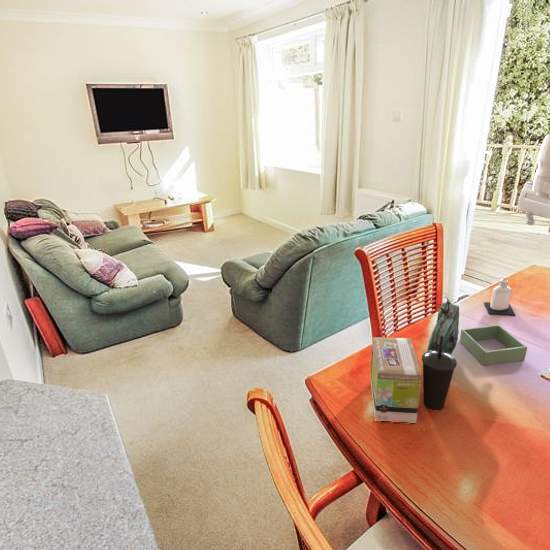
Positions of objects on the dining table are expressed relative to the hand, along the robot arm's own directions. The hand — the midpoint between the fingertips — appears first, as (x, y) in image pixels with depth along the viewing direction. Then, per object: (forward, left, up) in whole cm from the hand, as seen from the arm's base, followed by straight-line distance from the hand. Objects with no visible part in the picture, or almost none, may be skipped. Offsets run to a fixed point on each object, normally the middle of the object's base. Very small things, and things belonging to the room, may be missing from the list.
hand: (540, 228), depth 119 cm
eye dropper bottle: (+8, +2, -29) cm, 30 cm away
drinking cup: (+34, +54, -29) cm, 70 cm away
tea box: (+44, +55, -29) cm, 76 cm away
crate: (+16, +28, -29) cm, 43 cm away
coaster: (+8, +2, -29) cm, 30 cm away
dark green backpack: (+31, +39, -29) cm, 58 cm away
